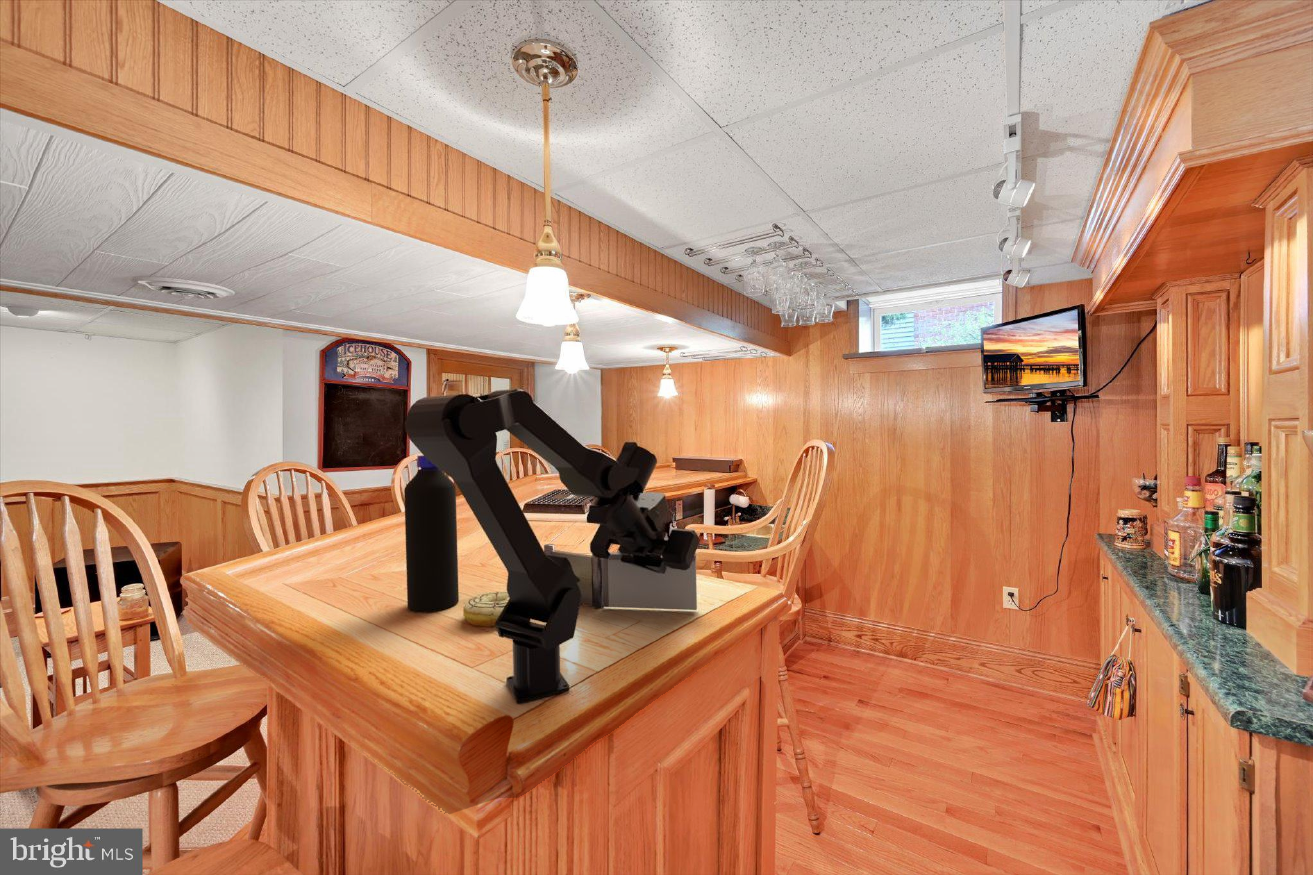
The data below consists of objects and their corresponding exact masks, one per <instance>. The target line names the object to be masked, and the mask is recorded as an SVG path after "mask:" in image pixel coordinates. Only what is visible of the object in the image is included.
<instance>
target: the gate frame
mask: <svg viewBox="0 0 1313 875" xmlns="http://www.w3.org/2000/svg"><path fill="white" fill-rule="evenodd" d="M543 550H544V552H545V554H547V555H553V556H560V557H566V558H567V559H568V560H569V562H570V563H571V566H572V569H573V572H574V574H575V575H576V577H578V578H579V579H580V581H579V582H577V584H578V586H579V589H580V592H581V597H580V606H581V605H582V606H587V607H591V608H593V609H596V610H597V609H603V608H605V607H604V602H603V558H598V557H595V556H594V555H593V554H592V553H591V555H590V554H585V553H578V552H577V553H576V552H571V551H565V550H564V551H563V550H557V549H556V550H555V544H554V543H547V544H543Z"/></svg>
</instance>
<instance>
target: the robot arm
mask: <svg viewBox="0 0 1313 875" xmlns="http://www.w3.org/2000/svg"><path fill="white" fill-rule="evenodd" d="M404 428H405V429H404V430H405V432H406V434H407V437H408V439H409V440H410V441H411V443H412V444H413V445H414V446H415V447H416V449H418V451H419V452H420V453H421V455H424V456H425V457H426V459H427V460H428V461H430V462H431V463H432V464H434V465H435V466H436V467H438V468H439V469H440V470H442V471H443V473H444V474H445V475H446V476H447V477H450V479H452V480H453V481H454V484H456V485H455V486H456V487H457V489H459V491H460V493H461V494H462V496H463V498H464V500H465V501H466V503H467V505H468V506H469V508H470V509H471V512H472V513H473V515H474V517H475V518H476V521H477V522H478V523H479V525H480V527H481V529H482V530H483V532H484V533H485V535H486V537H487V538H488V540H489V542H490V544H491V546H492V547H493V548H494V551H495V552H496V554H497V555H498V557H499V560H501V563H502V564H503V565H504V567H505V569H506V572H507V580H506V581H507V582H506V592H508V595H509V598H510V599H509V600H508V602H507V604H506V605H505V607H504V609H503V610H502V612H501V614H500V615H499V617H498V619H497V620H496V622H495V626H494V627H495V629H496V632H497V634H498V637H500V638H506V639H508V640H512V669H513V672H512V674H513V675H511V676H507V677H506V681H505V682H506V684H507V686H508V688H509V691H510V692H511V694H512V697H513V699H514V701H515V703H517V704H522V703H526V702H530V701H534V700H538V699H541V698H545V697H549V696H553V695H556V694H561V693H564V692H568V691H570V684H569V682H568V681H567V680H566V679H565V677H564V676H563V674H562V673H561V655H560V654H561V653H560V652H561V650H560V649H561V648H560V646H561V645H562V644H564V643H566V642H568V641H570V640H572V639H573V638H574V636H575V632H576V627H577V621H578V616H579V611H580V606H581V604H580V597H581V592H580V589H579V586H578V584H577V582H579V581H580V579H579V578H578V577H576V575H575V574H574V572H573V569H572V566H571V563H570V562H569V560H568V559H567V558H566V557H560V556H553V555H547V554H545V552H544V547H542V545H541V543H540V541H539V539H538V538H537V535H536V534H535V532H534V530H533V528H532V526H531V524H530V523H529V521H528V519H527V516H525V513H524V511H523V509H522V507H521V505H520V504H519V502H518V500H517V498H516V497H515V496H516V495H515V494H514V493H513V490H512V489H511V487H510V485H509V483H508V482H507V479H506V477H505V475H504V474H503V472H502V470H501V468H500V466H499V465H498V463H497V459H496V456H497V447H498V446H497V444H498V436H497V433H499V432H502V431H505V430H506V431H507V432H509V434H511V435H512V436H514V437H515V438H516V439H518V440H519V442H521V443H522V444H524V445H525V446H527V447H528V448H529V449H530V450H531V451H533V452H534V453H535V454H537V455H538V456H539V457H541V458H542V459H543V460H545V461H546V462H547V463H548V464H549V465H551V466H553V468H554V469H556V471H557V472H558V477H559V481H560V482H561V483H562V484H563V486H564V487H565V488H566V489H567V490H568V491H569V493H570V494H572V495H573V496H576V497H580V498H583V497H584V498H594V499H593V501H592V504H591V505H589V506H588V512H587V514H586V523H587V524H596V525H598V527H597V529H596V531H595V533H594V535H593V538H592V539H591V540H590V543H589V551H590V553H591V555H592V554H593V555H594V556H595V557H598V558H605V559H608V557H609V556H610V553H609V552H610V551H609V549H610V547H611V545H614V546H618V548H617V550H616V552H617V553H618V554H621V555H622V557H621V561H622V562H623V563H627V564H631V565H634V566H637V567H641V568H644V569H647V570H650V571H653V572H656V573H662V574H665V571H666V566H668V567H670V568H672V569H679V570H687V569H689V568H690V566H691V563H692V561H693V558H694V555H695V553H696V554H697V550H698V547H699V544H700V542H701V538H700V537H699V536H698V534H697V532H696V531H695V529H687V528H676V527H675V528H672V529H671V531H670V532H669V535H668V533H667V532H666V531H661V528H662V523H661V522H660V521H661V520H662V519H663V518H664V516H665V515H666V514H668V513H669V511H670V507H669V505H668V502H667V501H668V500H667V497H666V494H665V493H664V492H657V491H655V492H654V491H645V489H646V487H647V485H648V483H649V481H650V479H651V477H652V475H653V472H654V471H655V468H656V466H657V464H658V458H657V457H656V455H655V454H654V453H653V452H651V451H650V450H648V449H646V448H645V447H643V446H639V445H638V443H637V442H636V441H625V442H624V443H623V444H622V447H621V451H620V453H619V455H618V456H617V458H616V459H615V458H614V457H612V456H610V455H609V454H607V453H604V452H603V451H600V450H596V449H594V448H590V447H587V446H586V445H585V444H582V443H581V442H580V441H579V440H578V439H577V438H575V437H574V436H573V435H572V434H571V433H570V432H569V431H568V430H567V429H565V428H564V427H563V426H562V425H561V424H560V423H558V422H557V420H555V419H554V418H553V417H552V416H550V415H549V414H548V413H547V412H546V411H545V410H544V409H543V408H542V407H541V406H540V405H538V404H537V403H536V402H535V401H534V400H533V397H532V396H531V394H530V393H529V392H527V391H525V390H523V389H520V388H512V389H511V388H510V389H500V390H499V389H498V390H494V391H491V392H490V393H487V394H483V395H478V396H475V395H474V396H473V395H471V394H468V393H461V394H459V393H457V394H448V395H447V394H446V395H437V396H427V397H426V396H425V397H422V398H420V399H417V400H416V401H415V402H414V403H413V404H412V405H411V406H410V408H409V410H408V411H407V415H406V419H405V421H404ZM644 491H645V492H644ZM531 620H533V621H537V622H533V621H531ZM538 622H541V623H538ZM542 623H545V624H542Z"/></svg>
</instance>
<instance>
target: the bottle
mask: <svg viewBox="0 0 1313 875" xmlns="http://www.w3.org/2000/svg"><path fill="white" fill-rule="evenodd" d="M416 458H417V459H416V467H417V468H418V470H417V472H416V474H415V475H414V476H413V477H412V478H411V479H410V480H409V482H408V483H407V484H406V485H405V487H404V489H403V491H404V526H405V527H404V528H405V560H406V561H405V564H406V565H405V566H406V567H405V568H406V596H407V597H406V599H407V602H406V603H407V610H409V611H410V612H412V611H414V612H413V613H418V612H427V613H435V612H439V611H440V610H441V611H443V610H447V609H451V608H452V607H454V606H455V605H457V604H458V603H459V600H460V599H459V597H460V596H459V594H460V593H459V565H458V564H459V563H458V562H459V560H458V527H457V526H458V525H457V522H458V521H457V492H456V491H457V489H456V488H457V485H455V484H456V483H455V482H453V481H452V480H451V478H449V476H448V475H447V474H446V473H444V472H443V471H442V470H440V469H439V468H438V467H436V466H435V465H434V464H432V463H431V462H430V461H428V460H427V459H426V457H425V456H424V455H423V454H421V455H417V456H416ZM419 468H420V469H419ZM434 611H435V612H434Z"/></svg>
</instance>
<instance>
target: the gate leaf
mask: <svg viewBox="0 0 1313 875" xmlns="http://www.w3.org/2000/svg"><path fill="white" fill-rule="evenodd" d="M608 552H609V553H610V556H609V557H608V559H605V558H603V602H604V608H622V609H623V608H625V609H626V608H627V609H629V608H630V609H650V610H651V609H655V610H658V609H659V610H680V611H681V610H686V611H688V610H689V611H697V609H698V598H697V597H698V592H697V589H698V588H697V552H696V553H695V555H694V558H693V561H692V563H691V566H690V568H689V569H687V570H679V569H672V568H670V567H668V566H666V571H665V574H662V573H656V572H653V571H650V570H647V569H644V568H641V567H637V566H634V565H631V564H627V563H623V562H622V561H621V557H622V555H621V554H618V553H617V551H608Z"/></svg>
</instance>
